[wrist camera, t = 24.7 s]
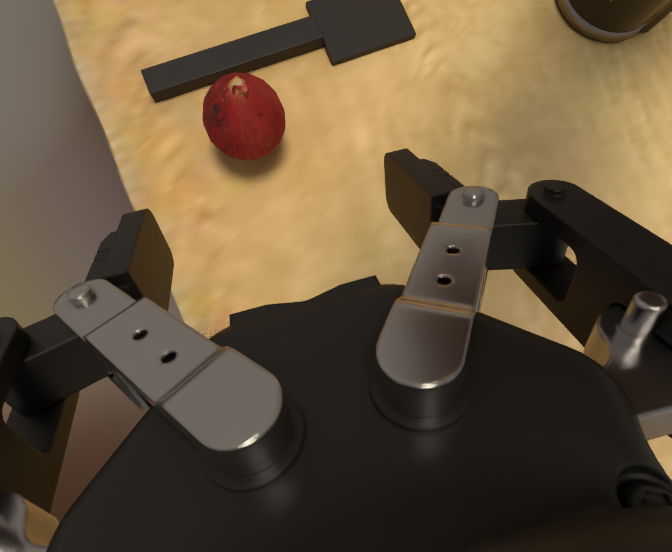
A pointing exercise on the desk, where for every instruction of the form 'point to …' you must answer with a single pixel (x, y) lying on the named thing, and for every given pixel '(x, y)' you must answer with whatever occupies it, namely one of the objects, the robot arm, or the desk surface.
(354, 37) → the spatula
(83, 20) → the desk surface
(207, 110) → the onion
